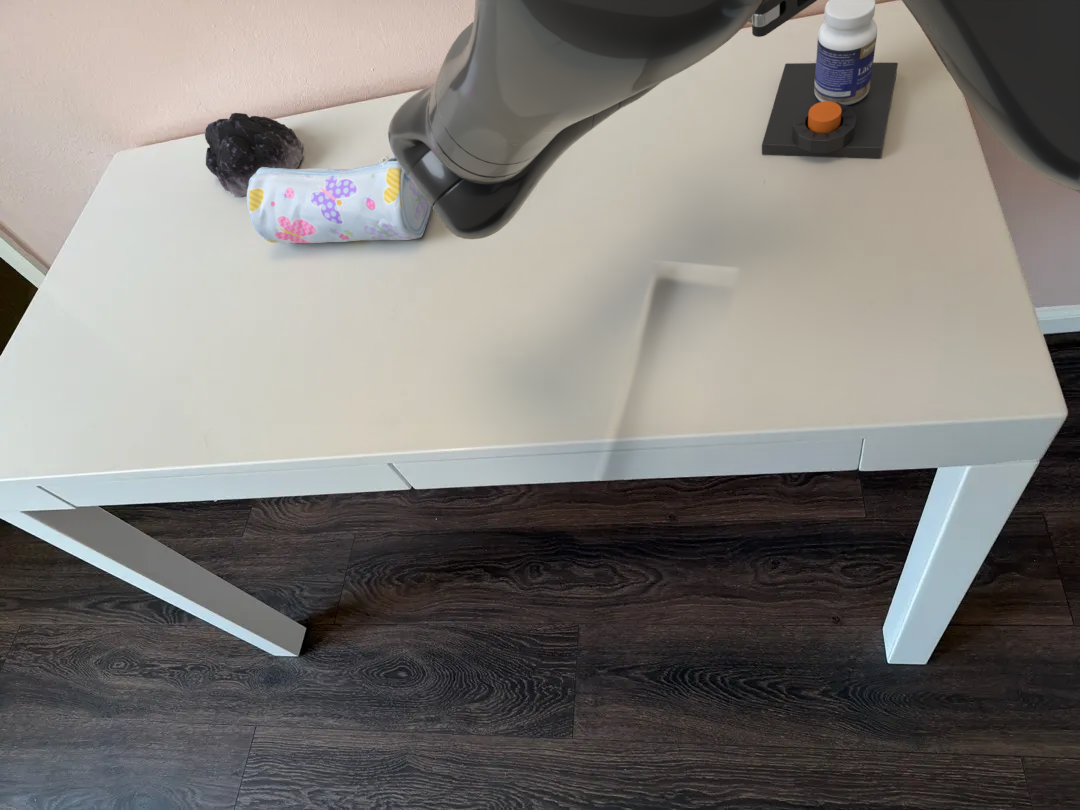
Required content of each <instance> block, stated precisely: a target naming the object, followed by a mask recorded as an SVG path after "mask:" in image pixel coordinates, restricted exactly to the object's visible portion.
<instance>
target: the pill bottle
mask: <svg viewBox="0 0 1080 810" xmlns="http://www.w3.org/2000/svg"><path fill="white" fill-rule="evenodd" d="M875 12H876V0H828V1H827V2H826V4H825V6H824V14H823V20H824V22H823V23H822V25H821V26H820V28H819V29H818V34H817V46H816V58H815V59H816V60H815V63H816V71H815V84H814V92H815V96H816V97H817V99H818V100H819V101H821V102H825V101H830V102H838V103H840V104H843V105H845V106H847V105H851V104H854V103H856V102H858V101H860V100H862V99H863V98H864V97H865V96H866V95H867V93H868V92H869V89H870V83H871V75H872V67H873V63H874V59H875V53H876V52H875V51H876V44H877V38H878V37H877V36H878V26H877V23H876V21H875V20H874V18H875V17H874V16H875Z"/></svg>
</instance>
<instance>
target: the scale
mask: <svg viewBox="0 0 1080 810" xmlns="http://www.w3.org/2000/svg"><path fill="white" fill-rule="evenodd" d="M898 65H899V63H898V62H873V67H872V75H871V83H870V89H869V92H868V93H867V95H866V96H865V97H864V98H863V99H862V100H860V101H858V102H856V103H854V104H851V105H847V106H845V105H843V104H840V103H838V102H834V103H837V104H838V105H839V106H840V107H841V109H842V112H841V122H840V126H839V127H838V128H837V129H836V130H835V131H832V132H829V133H815V132H813V131H811V130H810V129H809V127H808V114H809V110H810V108H811V107H812V106H813V105H815V104H817V103H819V102H821V101H819V100H818V99H817V97H816V96H815V92H814V84H815V71H816V62H805V63H803V62H800V63H799V62H798V63H797V62H796V63H795V62H794V63H791V62H790V63H789V62H788V63H785V64H784V67H783V71H782V74H781V78H780V80H779V84H778V88H777V92H776V95H775V98H774V100H773V105H772V108H771V112H770V115H769V119H768V122H767V125H766V130H765V132H764V137H763V139H762V143H761V155H763V156H792V157H793V156H794V157H818V158H819V157H821V158H847V159H849V158H850V159H851V158H852V159H882V153H883V149H884V144H885V143H884V142H885V136H886V132H887V127H888V121H889V115H890V109H891V104H892V99H893V93H894V88H895V82H896V77H897V72H898V71H897V70H898Z"/></svg>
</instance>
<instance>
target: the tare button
mask: <svg viewBox="0 0 1080 810" xmlns="http://www.w3.org/2000/svg"><path fill="white" fill-rule="evenodd" d="M841 112H842V109H841V107H840V106H839V105H838V104H837V103H834V102H830V101H825V102H819V103H817V104H815V105H813V106H812V107H811V108H810V110H809V114H808V127H809V129H810V130H811V131H813V132H815V133H829V132H832V131H835V130H836V129H837V128H838V127H839V126H840V122H841Z"/></svg>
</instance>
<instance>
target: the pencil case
mask: <svg viewBox="0 0 1080 810" xmlns="http://www.w3.org/2000/svg"><path fill="white" fill-rule="evenodd" d="M246 206H247V211H248V216H249V219H250V221H251V225H252V226H253V228H254V230H255V231H256V232H257V234H258V235H259V236H260V237H261V238H263V239H264V240H266V241H267V242H268V243H273V244H287V243H288V244H319V243H320V244H321V243H322V244H323V243H347V242H359V241H408V240H409V241H411V240H415V239H420V238H422V237H423V235H424V233H425V230H426V228H427V224H428V222H429V219H430V215H431V214H430V213H431V208H432V207H431V206H430V204H429V203H428V202H427V200H426V199H425V198H424V196H423V195H422V194H421V192H420V191H419V190H418V188H417V187H416V186H415V184H414V183H413V182H412V180H411V179H410V178H409V176H408V175H407V174H406V172H405V171H404V169H403V168H402V167H401V165H400V164H399V162H398V161H397V159H396V158H395V156H394V155H393V157H391V158H389V157H388V156H383V157H381V158H380V159H379V160H378V163H377V164H372V165H365V166H360V167H356V168H352V169H346V168H345V169H343V168H296V169H283V168H268V167H262V168H259V169H258V170H257V172H256V173H255V174H254V175H253V176H252V177H251V178H250V180H249V186H248V190H247V195H246Z"/></svg>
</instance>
